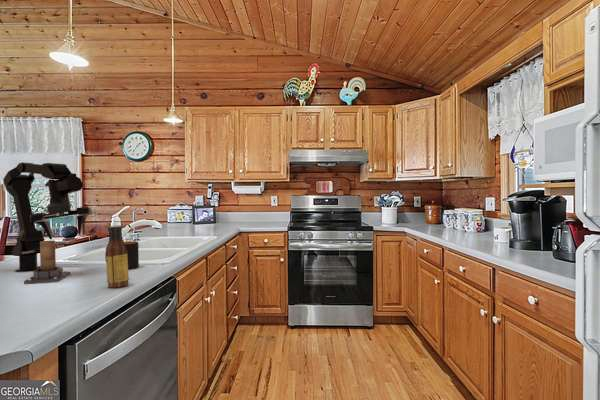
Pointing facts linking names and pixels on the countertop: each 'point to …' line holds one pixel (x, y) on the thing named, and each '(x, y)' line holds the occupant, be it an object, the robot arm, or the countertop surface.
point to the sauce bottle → (116, 259)
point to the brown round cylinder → (47, 255)
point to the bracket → (47, 276)
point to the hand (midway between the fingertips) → (65, 237)
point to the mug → (132, 254)
